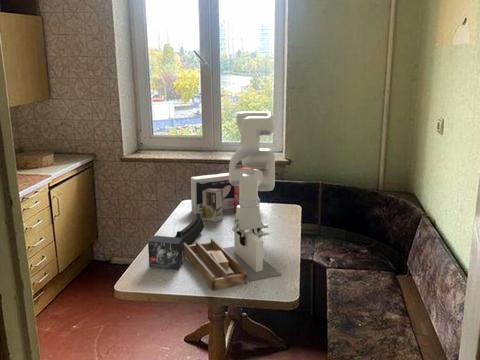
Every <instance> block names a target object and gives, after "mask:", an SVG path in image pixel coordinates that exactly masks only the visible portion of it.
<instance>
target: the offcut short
mask: <svg viewBox="0 0 480 360" xmlns="http://www.w3.org/2000/svg"><path fill="white" fill-rule="evenodd" d="M211 256H212V257H213V258H214V259H215V260H216V261H217V262H218V263H219V264H220V265H221V266H222V267H223V268H226V267H228V260H227V259H226V257H225V256H224V254H223V253H222V252H221V250H220V251H211Z"/></svg>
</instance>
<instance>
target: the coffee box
mask: <svg viewBox="0 0 480 360" xmlns="http://www.w3.org/2000/svg"><path fill="white" fill-rule="evenodd" d="M222 191H223V190H217V189H211V188H208V189H206V190H204V191H202V193H203V213H202V219H203V220H205V221H210V222H215V223H218V222H219V221H221V220H223V219H224V215H223V213H224V212H223V211H224V210H223V195H222Z"/></svg>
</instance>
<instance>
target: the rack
mask: <svg viewBox="0 0 480 360" xmlns="http://www.w3.org/2000/svg"><path fill="white" fill-rule="evenodd" d="M224 248H225V247H223V246H222V245H221V244H219V242H217V241H216V240H215V239H214V238H210V241H207V242H202V243H200V242H199V241H197V240H196V241H195V244H192V245H187V244H186V243H183V257H185V258H187V259H186V260H187V261H188V262H189V264H190V265H191V266H192V267H193V268H194V269H195V271H196V272H197V273H198V275H199V276H200V277H201V278H202V280H204V282H205V283H206V284H207V286H208V287H209V288H210V290H212V291H216V290H222V289H226V288H232V287H236V286H241V285H246V284H247V282H248V281H247V280H248V279H247V270H246V269H245V268H244V267H243V266H241V265H240V264H239V263H238V262H237V261H236V260H235V259H234V258H233V257H232V256H231V255H230V254H229V253H228V252H227V251H226V250H225V249H224ZM212 250H215V251H220V250H221V252H222V253H223V254H224V256H225V257H226V259H227V260H228V266H229V267H230V268H231V270H232V271H233V272H234V275H231V276H228V272H227V271H226V270H225V269H224V268H223V267H222V266H221V265H220V264H219V263H218V262H217V261H216V260H215V259H214V258H213V257H212V256H211V255H210V254H209V253H208V252H207V251H212ZM201 259H202V260H203V261H202V260H201Z"/></svg>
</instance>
